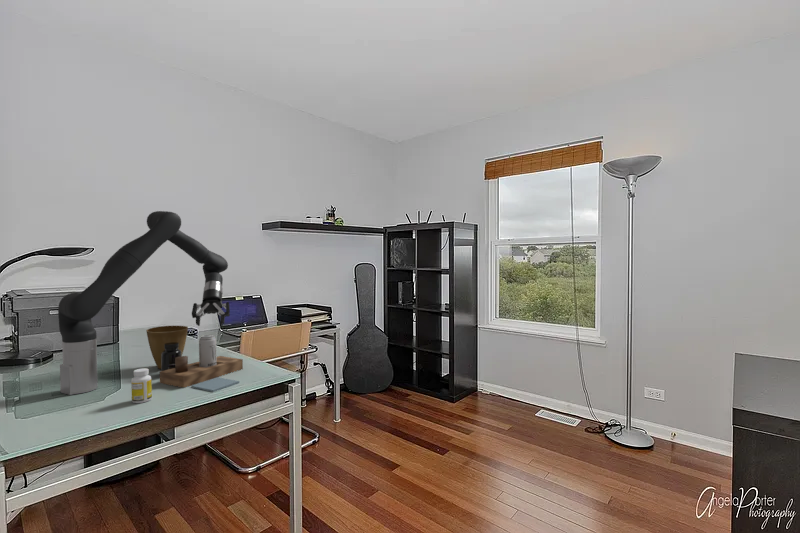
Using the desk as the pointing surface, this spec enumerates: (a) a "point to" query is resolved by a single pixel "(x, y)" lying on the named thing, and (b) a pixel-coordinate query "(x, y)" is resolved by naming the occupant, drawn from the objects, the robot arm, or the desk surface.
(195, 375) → the body
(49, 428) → the desk surface
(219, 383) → the rubber mat
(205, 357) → the energy drink can
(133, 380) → the supplement bottle
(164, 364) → the supplement bottle
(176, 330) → the plant pot
